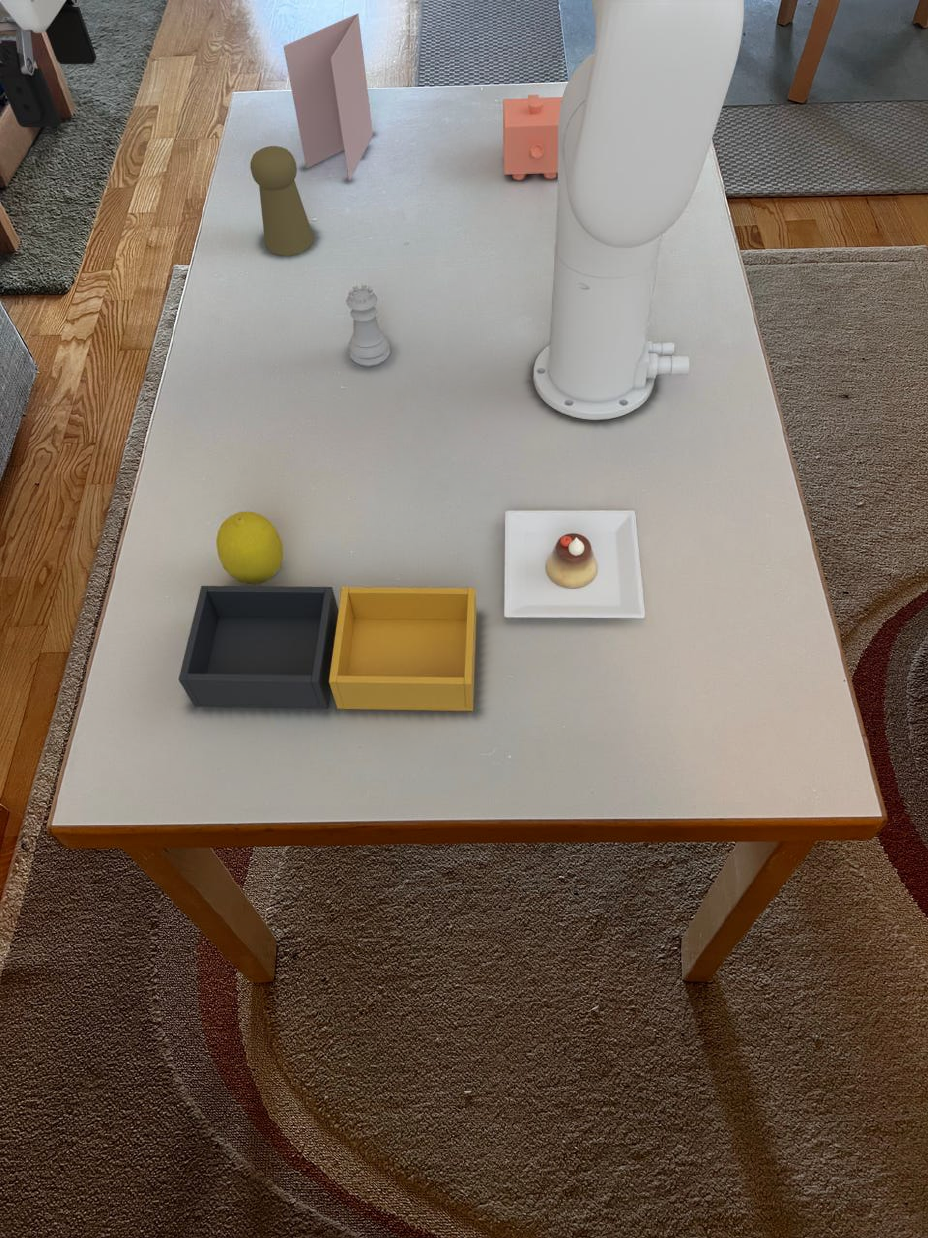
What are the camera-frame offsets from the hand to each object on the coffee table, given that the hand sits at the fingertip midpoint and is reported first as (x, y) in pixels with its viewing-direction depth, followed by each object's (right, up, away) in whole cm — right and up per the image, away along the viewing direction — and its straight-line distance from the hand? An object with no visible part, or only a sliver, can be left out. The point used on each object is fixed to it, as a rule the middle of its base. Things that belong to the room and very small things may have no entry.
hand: (60, 92), depth 72 cm
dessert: (+42, -37, +10) cm, 57 cm away
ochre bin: (+27, -45, +5) cm, 53 cm away
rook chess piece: (+22, -13, +27) cm, 37 cm away
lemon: (+13, -38, +11) cm, 42 cm away
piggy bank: (+41, +17, +46) cm, 64 cm away
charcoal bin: (+15, -45, +6) cm, 48 cm away
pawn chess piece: (+11, +5, +40) cm, 41 cm away
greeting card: (+17, +19, +49) cm, 56 cm away
